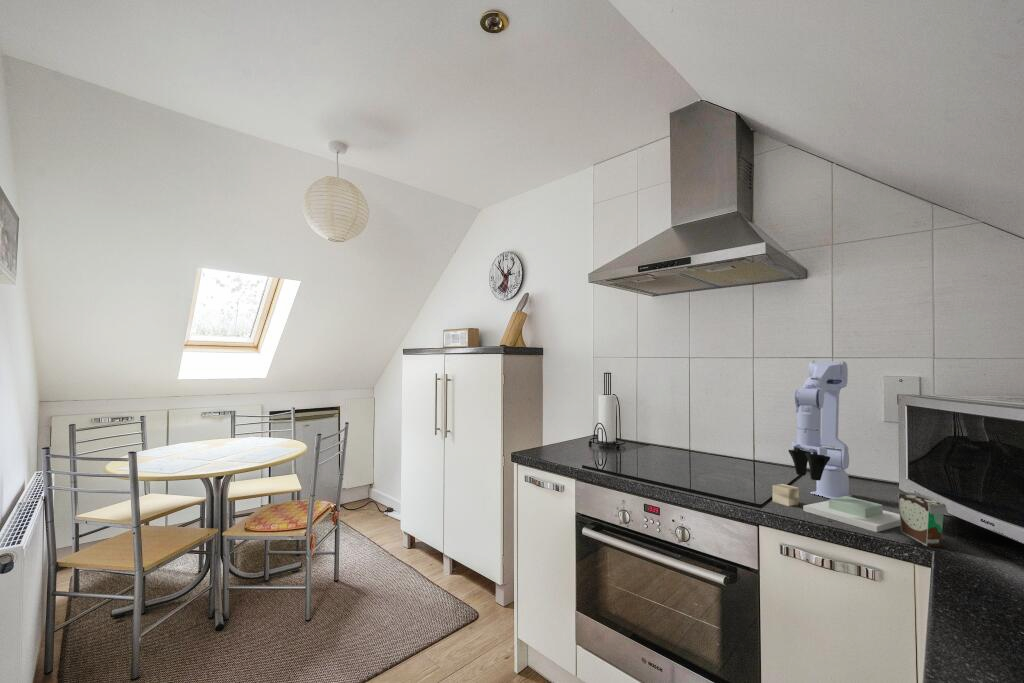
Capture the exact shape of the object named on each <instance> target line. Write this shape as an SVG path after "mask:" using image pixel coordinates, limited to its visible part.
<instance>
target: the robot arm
mask: <svg viewBox="0 0 1024 683" xmlns="http://www.w3.org/2000/svg"><path fill="white" fill-rule="evenodd" d="M848 370H849V369H848V364H847V362H846V361H845V360H841V361H840V360H838V361H833V360H832V361H831V360H825V361H824V360H811V361H810V362H809V364H808V375H809V377H808V378H807V379H806V380H805V382H804V384H803V385H802V387H799V388H798V389H796V390H795V391H794V404H795V413H796V415H797V418H796V422H797V423H796V442H795V441H792V442H791V449H788V453H789V455H790V456H791V459H792V462H793V465H794V469H795V473H796V475H797V476H806V474H807V468H808V467H809V476H810V479H811V480H812V481H816V484H815V485H816V490H814V491H810V494H811V495H814V494H815V495H814V496H818V495H819V496H820V497H822V496H823V498H827V499H834V498H839V497H844V496H848V497H851V496H852V497H853V495H851V494H850V483H849V482H850V480H849V478H850V477H849V474H848V473H847V471H846V470H847V469H848V468H849V465H850V453H849V446H848V445H847V444H846V443H845V442H844V441H842V440H841V439H839V419H840V418H839V413H840V393H841V389H843V388H846V387H847V385H848V376H849V375H848V373H849V372H848ZM807 466H808V467H807ZM819 496H818V497H819Z"/></svg>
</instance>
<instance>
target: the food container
mask: <svg viewBox="0 0 1024 683" xmlns="http://www.w3.org/2000/svg"><path fill="white" fill-rule="evenodd" d="M896 499H897V500H898V509H899V514H900V524H901V526H900V532H901V533H902V534H904V535H906V536H908V537H909V538H911V539H913V540H915V541H917V542H919V544H920V543H921V544H922V545H924V546H926V547H931V546H935V547H940V546H941V545H942V537H943V536H942V535H943V524H944V514H947V513H948V508H947V506H946V504H945V502H944V501H943V500H941V499H939V498H936V497H934V496H929V495H926V494H925V495H924V494H920V493H917V492H916V493H914V492H910V491H909V492H906V491H901V490H900V491H899V490H898V491H897V495H896Z"/></svg>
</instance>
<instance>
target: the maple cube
mask: <svg viewBox="0 0 1024 683" xmlns="http://www.w3.org/2000/svg"><path fill="white" fill-rule="evenodd" d="M771 486H772V487H771V488H772V493H771V494H772V500H771V501H772V502H773V503H776V504H780V505H783V506H786V507H792V506H798V505H800V503H799V502H800V499H799V496H800V493H799V492H800V491H799V490H800V488H799V487H796V486H792V485H788V484H785V483H780V484H779V483H778V484H773V485H771Z"/></svg>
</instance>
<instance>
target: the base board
mask: <svg viewBox="0 0 1024 683" xmlns="http://www.w3.org/2000/svg"><path fill="white" fill-rule="evenodd" d="M883 506H884V505H883V504H880V503H876V502H872V501H868V500H864V499H860V498H856V497H853V496H852V497H848V496H844V497H839V498H834V499H830V498H828V500H824V501H820V502H813V503H810V504H804V505H803V506H802V508H803V509H802V511H804V512H806V513H809V514H814V515H817V516H820V517H824V518H827V519H829V520H834V521H836V522H837V521H838V522H841V523H844V524H847V525H851V526H854V527H858V528H861V529H865V530H868V531H870V532H874V533H878V532H882V531H886V530H889V529H893V528H896V527H901V524H900V513H896V512H892V511H888V510H884V509H883V508H884V507H883Z"/></svg>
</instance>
